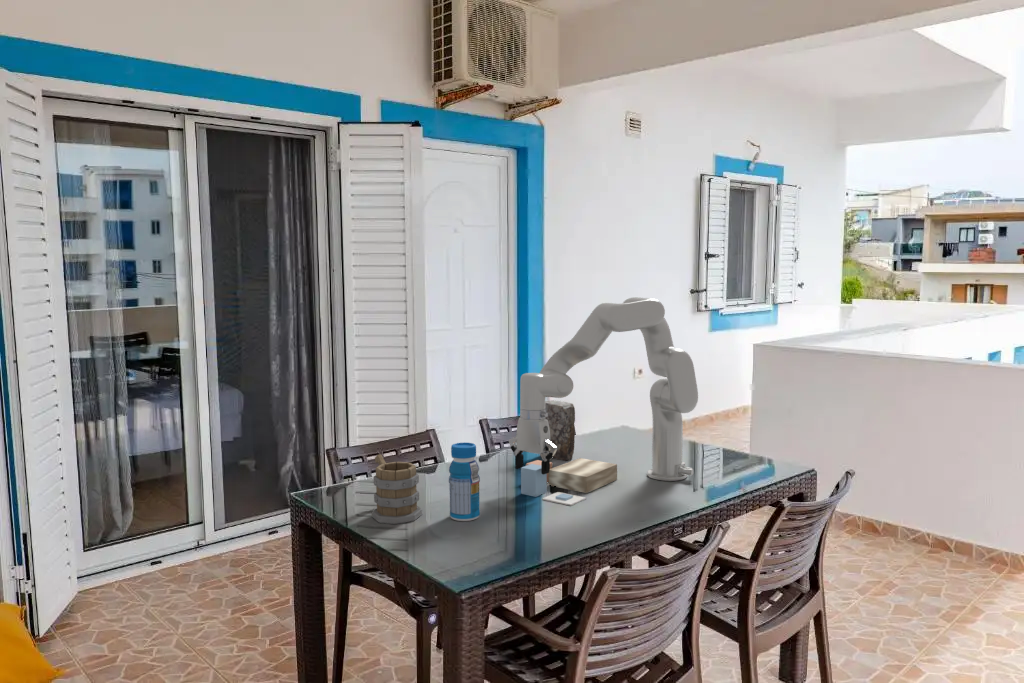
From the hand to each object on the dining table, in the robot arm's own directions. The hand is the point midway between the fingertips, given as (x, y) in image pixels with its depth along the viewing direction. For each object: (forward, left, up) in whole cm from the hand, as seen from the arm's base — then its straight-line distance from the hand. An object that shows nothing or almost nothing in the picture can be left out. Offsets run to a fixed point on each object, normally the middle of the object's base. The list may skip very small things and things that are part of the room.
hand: (532, 470), depth 225 cm
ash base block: (-6, -18, -7) cm, 21 cm away
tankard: (+21, +38, -7) cm, 44 cm away
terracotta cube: (+6, -11, -7) cm, 15 cm away
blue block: (0, 0, -7) cm, 7 cm away
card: (-11, 0, -7) cm, 13 cm away
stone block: (+19, -40, -7) cm, 45 cm away
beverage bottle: (+2, +29, -7) cm, 30 cm away
